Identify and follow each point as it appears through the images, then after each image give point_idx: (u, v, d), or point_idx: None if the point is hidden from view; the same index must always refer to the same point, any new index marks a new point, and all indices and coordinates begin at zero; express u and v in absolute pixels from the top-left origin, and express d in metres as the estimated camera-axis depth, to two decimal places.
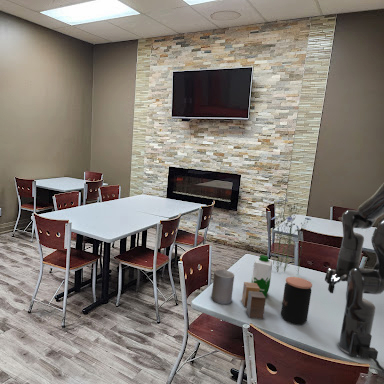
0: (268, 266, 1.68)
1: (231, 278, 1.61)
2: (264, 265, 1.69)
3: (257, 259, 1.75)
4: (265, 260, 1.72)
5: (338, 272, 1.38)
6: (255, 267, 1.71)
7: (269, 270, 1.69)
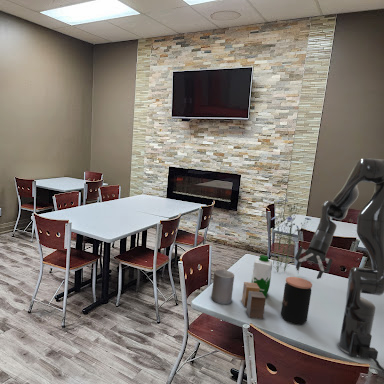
0: (268, 266, 1.68)
1: (231, 278, 1.61)
2: (264, 265, 1.69)
3: (257, 259, 1.75)
4: (265, 260, 1.72)
5: (307, 251, 1.54)
6: (255, 267, 1.71)
7: (269, 270, 1.69)
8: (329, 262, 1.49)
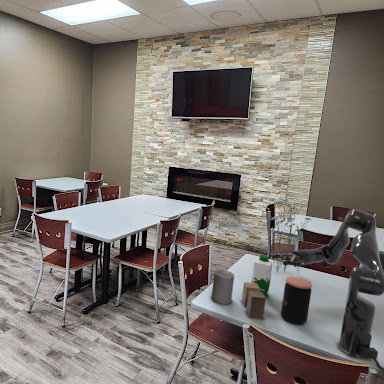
0: (268, 266, 1.68)
1: (231, 278, 1.61)
2: (264, 265, 1.69)
3: (257, 259, 1.75)
4: (265, 260, 1.72)
5: None
6: (255, 267, 1.71)
7: (269, 270, 1.69)
8: (300, 260, 1.70)
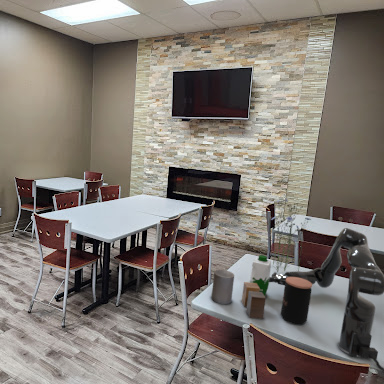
0: (267, 266, 1.68)
1: (231, 278, 1.61)
2: (263, 265, 1.69)
3: (256, 259, 1.75)
4: (264, 260, 1.72)
5: (280, 274, 1.81)
6: (254, 267, 1.71)
7: (268, 270, 1.69)
8: None
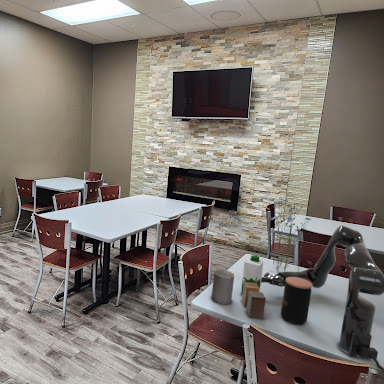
0: (257, 266, 1.67)
1: (231, 278, 1.61)
2: (253, 265, 1.68)
3: (248, 259, 1.74)
4: (255, 260, 1.71)
5: (273, 274, 1.79)
6: (245, 267, 1.71)
7: (258, 270, 1.68)
8: (279, 281, 1.71)
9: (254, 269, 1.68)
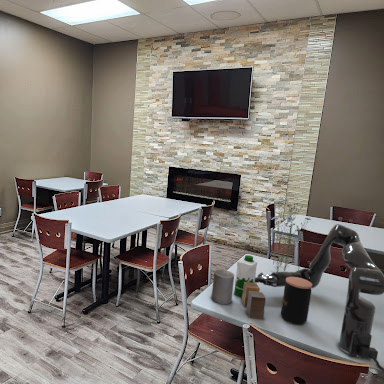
0: (249, 266, 1.66)
1: (231, 278, 1.61)
2: (246, 265, 1.68)
3: (242, 259, 1.74)
4: (249, 260, 1.71)
5: None
6: (237, 266, 1.71)
7: (251, 270, 1.67)
8: (272, 281, 1.70)
9: (246, 269, 1.67)
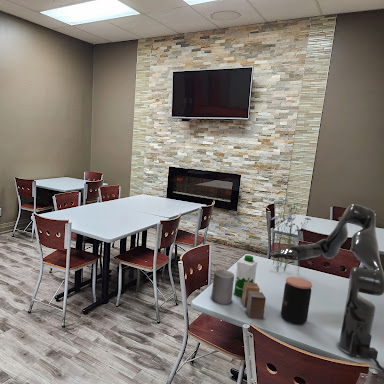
0: (249, 266, 1.66)
1: (231, 278, 1.61)
2: (246, 265, 1.68)
3: (242, 259, 1.74)
4: (249, 260, 1.71)
5: None
6: (237, 266, 1.71)
7: (251, 270, 1.67)
8: (293, 254, 1.70)
9: (246, 269, 1.67)
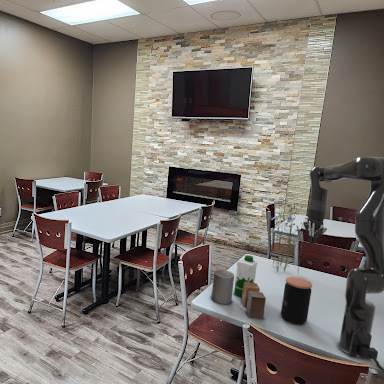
0: (249, 266, 1.66)
1: (231, 278, 1.61)
2: (246, 265, 1.68)
3: (242, 259, 1.74)
4: (249, 260, 1.71)
5: (307, 220, 1.65)
6: (237, 266, 1.71)
7: (251, 270, 1.67)
8: (319, 230, 1.57)
9: (246, 269, 1.67)
